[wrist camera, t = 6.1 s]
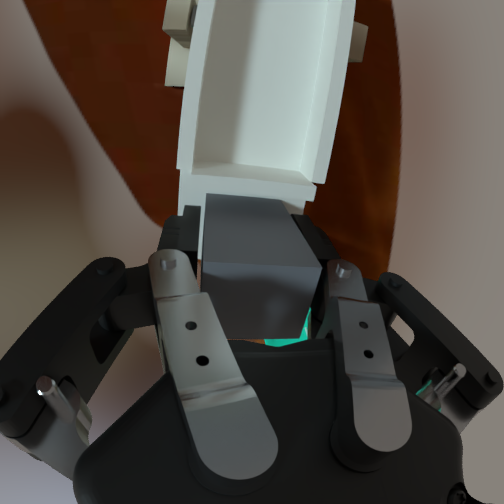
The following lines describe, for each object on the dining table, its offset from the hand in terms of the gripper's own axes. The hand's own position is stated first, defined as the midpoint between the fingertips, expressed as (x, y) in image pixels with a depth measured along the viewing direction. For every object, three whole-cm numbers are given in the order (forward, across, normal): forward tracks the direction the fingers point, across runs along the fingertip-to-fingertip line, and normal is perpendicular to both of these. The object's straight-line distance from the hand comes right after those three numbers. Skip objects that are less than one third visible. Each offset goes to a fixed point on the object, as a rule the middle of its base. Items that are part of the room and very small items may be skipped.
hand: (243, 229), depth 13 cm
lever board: (+4, 0, -8) cm, 9 cm away
